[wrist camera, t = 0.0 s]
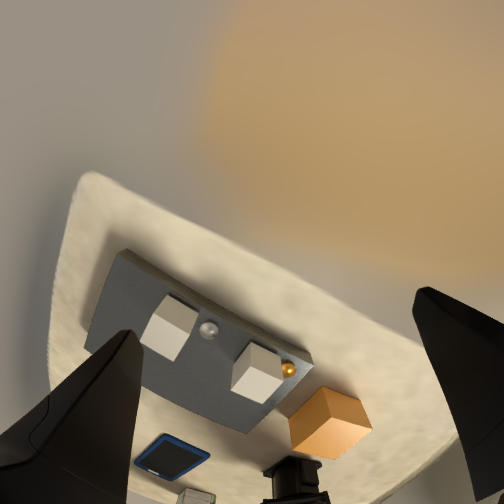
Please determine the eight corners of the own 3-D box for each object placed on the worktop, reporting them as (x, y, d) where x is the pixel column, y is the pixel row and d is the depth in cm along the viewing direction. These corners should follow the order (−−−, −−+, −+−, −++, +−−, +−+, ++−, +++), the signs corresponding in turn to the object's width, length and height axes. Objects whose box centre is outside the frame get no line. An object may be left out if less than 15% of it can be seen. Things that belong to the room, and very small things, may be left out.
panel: (246, 421, 28) (246, 436, 26) (92, 339, 26) (81, 349, 23) (310, 353, 26) (314, 367, 23) (126, 248, 23) (114, 254, 21)
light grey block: (261, 378, 24) (262, 404, 20) (233, 365, 23) (230, 390, 20) (280, 356, 23) (283, 381, 20) (251, 341, 23) (250, 366, 19)
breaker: (183, 338, 23) (173, 361, 19) (153, 321, 22) (139, 341, 19) (198, 313, 22) (189, 334, 19) (167, 294, 22) (153, 313, 18)
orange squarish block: (327, 431, 29) (334, 459, 24) (288, 419, 28) (292, 450, 23) (360, 400, 27) (372, 429, 23) (322, 385, 27) (331, 417, 22)
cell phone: (133, 460, 32) (131, 463, 31) (165, 430, 29) (164, 434, 29) (171, 479, 33) (171, 482, 32) (213, 452, 30) (212, 456, 30)
